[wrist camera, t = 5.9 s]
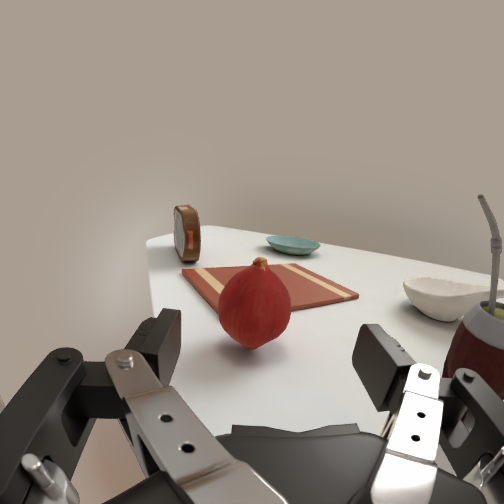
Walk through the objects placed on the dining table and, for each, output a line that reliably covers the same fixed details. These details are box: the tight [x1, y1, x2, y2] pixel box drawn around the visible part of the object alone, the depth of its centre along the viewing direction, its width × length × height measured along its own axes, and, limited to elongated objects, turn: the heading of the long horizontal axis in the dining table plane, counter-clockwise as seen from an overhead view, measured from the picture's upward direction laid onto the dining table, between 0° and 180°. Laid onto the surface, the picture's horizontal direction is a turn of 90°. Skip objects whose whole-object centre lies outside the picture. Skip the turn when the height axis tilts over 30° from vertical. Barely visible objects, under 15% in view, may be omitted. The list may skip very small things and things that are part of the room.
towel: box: [182, 264, 359, 313], centre depth 39 cm, size 20×15×1 cm
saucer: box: [266, 236, 321, 255], centre depth 62 cm, size 12×12×2 cm
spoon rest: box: [403, 277, 504, 322], centre depth 29 cm, size 24×12×7 cm, turn 33°
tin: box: [174, 205, 201, 261], centre depth 49 cm, size 15×3×8 cm, turn 21°
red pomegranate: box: [218, 257, 291, 350], centre depth 23 cm, size 6×6×8 cm
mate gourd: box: [442, 195, 504, 422], centre depth 14 cm, size 8×8×15 cm
